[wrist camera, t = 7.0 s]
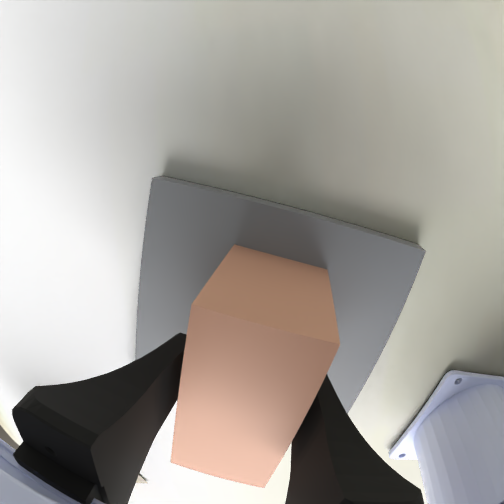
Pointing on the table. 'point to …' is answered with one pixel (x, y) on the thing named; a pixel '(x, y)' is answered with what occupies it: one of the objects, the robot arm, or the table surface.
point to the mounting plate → (279, 244)
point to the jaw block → (252, 364)
